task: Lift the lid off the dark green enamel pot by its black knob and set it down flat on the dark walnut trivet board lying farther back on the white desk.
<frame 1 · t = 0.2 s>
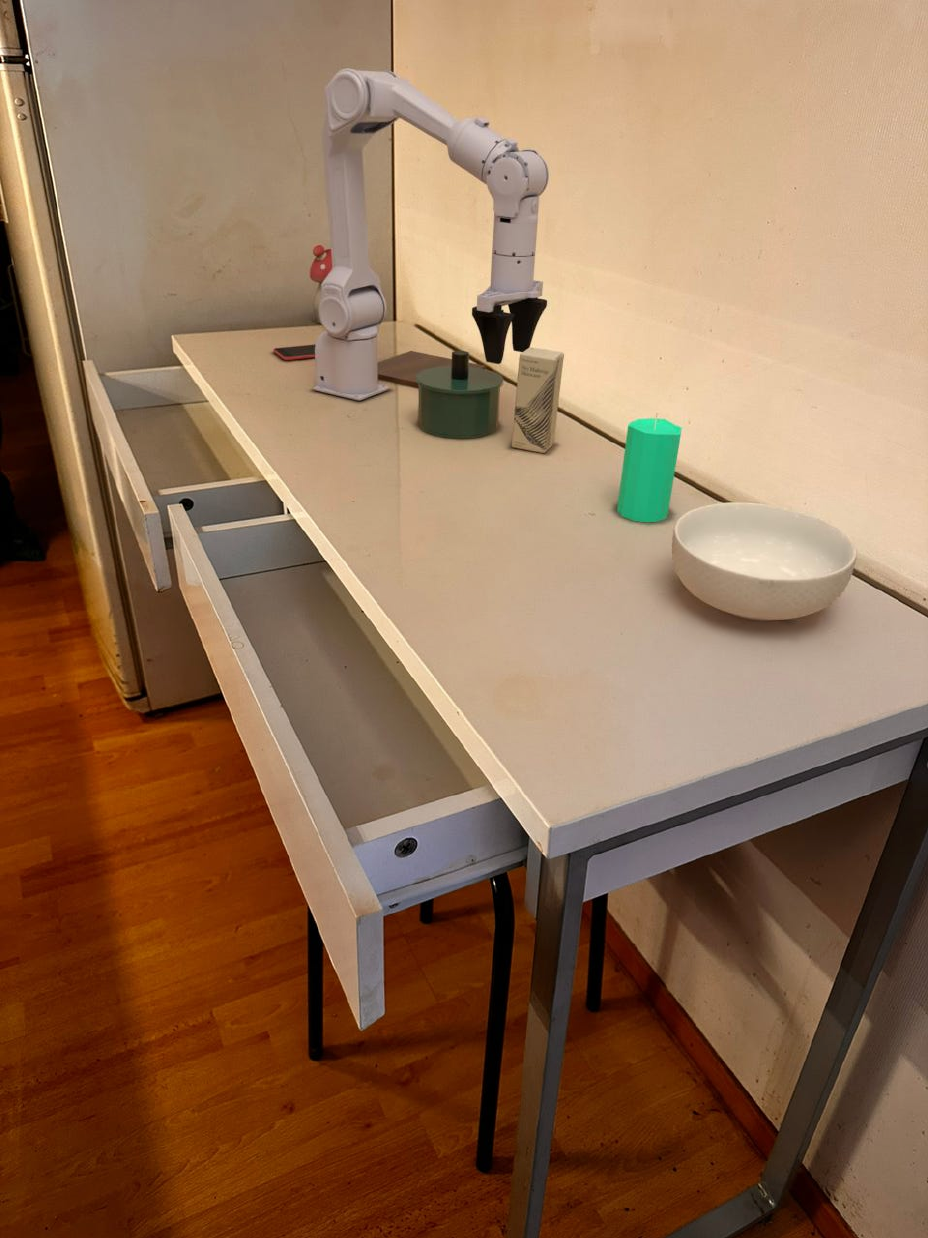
hand: (507, 356, 126), 10 cm above the table, tool pointing down, fingers open, 7 cm apart
candle: (642, 513, 106), on the table
pot: (458, 425, 130), on the table
trivet: (422, 372, 154), on the table
decorative ornament: (333, 323, 184), on the table
smartphone: (315, 353, 162), on the table
lid: (459, 381, 127), point 6 cm above the table, touching pot
box: (533, 447, 124), on the table
cereal bowl: (749, 602, 88), on the table
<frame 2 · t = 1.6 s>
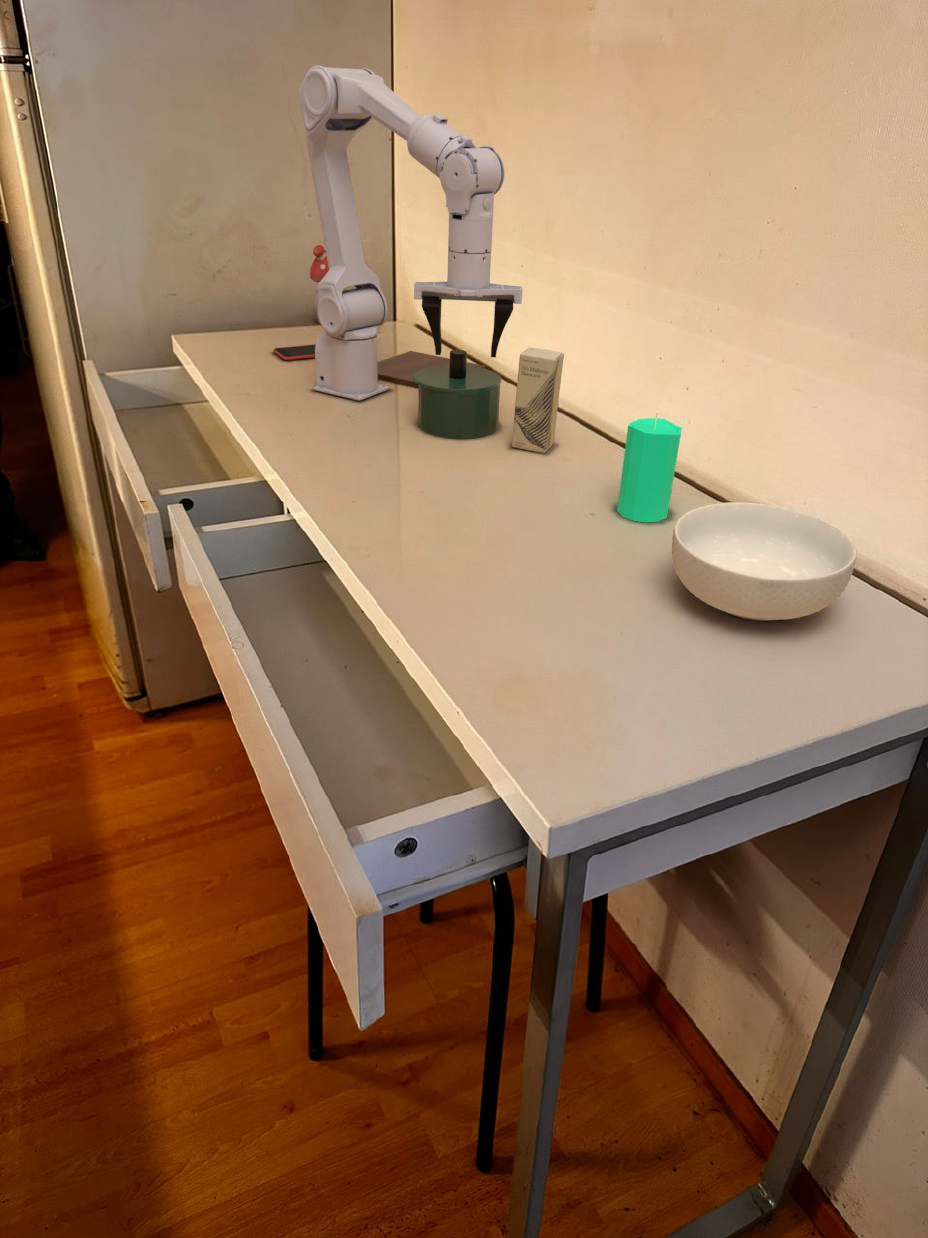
hand: (465, 354, 125), 10 cm above the table, tool pointing down, fingers open, 7 cm apart
nothing on the table moved.
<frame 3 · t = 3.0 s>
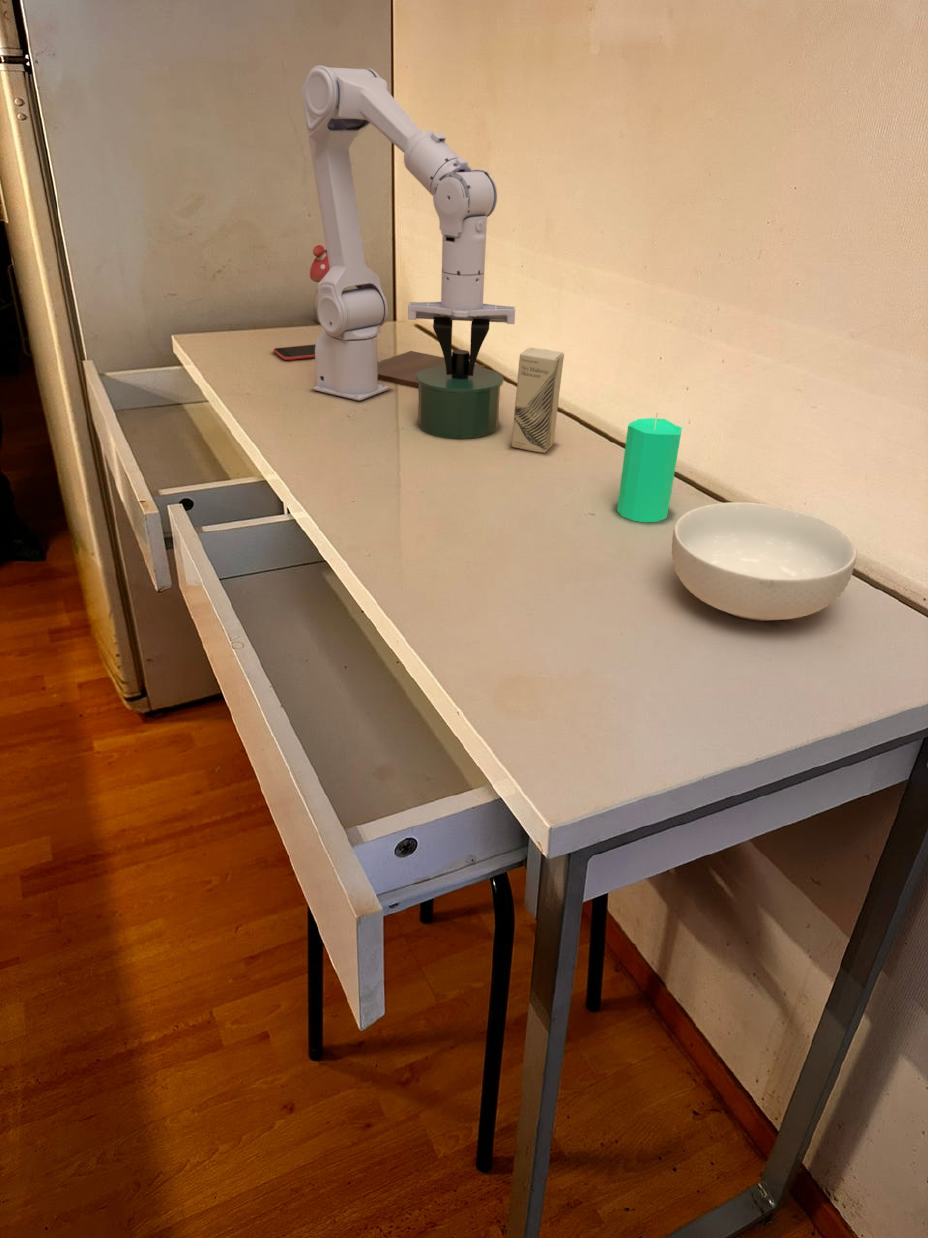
hand: (459, 373, 127), 8 cm above the table, tool pointing down, fingers closed on lid, 2 cm apart
lid: (459, 380, 127), point 7 cm above the table, touching gripper
everything else where it was.
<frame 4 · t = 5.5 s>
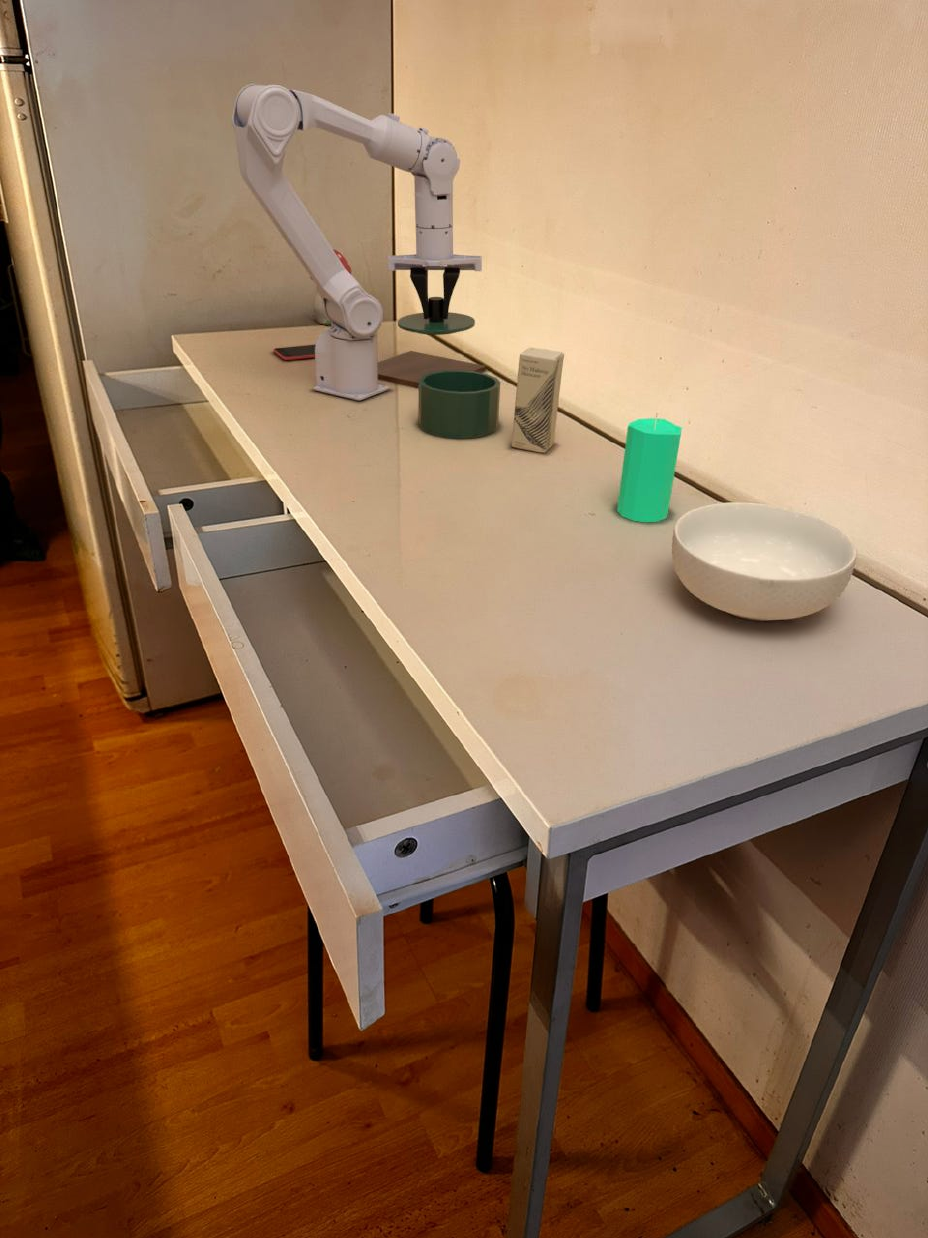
hand: (435, 317, 144), 10 cm above the table, tool pointing down, fingers closed on lid, 2 cm apart
lid: (436, 323, 145), point 9 cm above the table, touching gripper
everything else where it was.
when the fingers open (2 cm above the table, at t = 8.2 s): lid stays where it is, resting on trivet.
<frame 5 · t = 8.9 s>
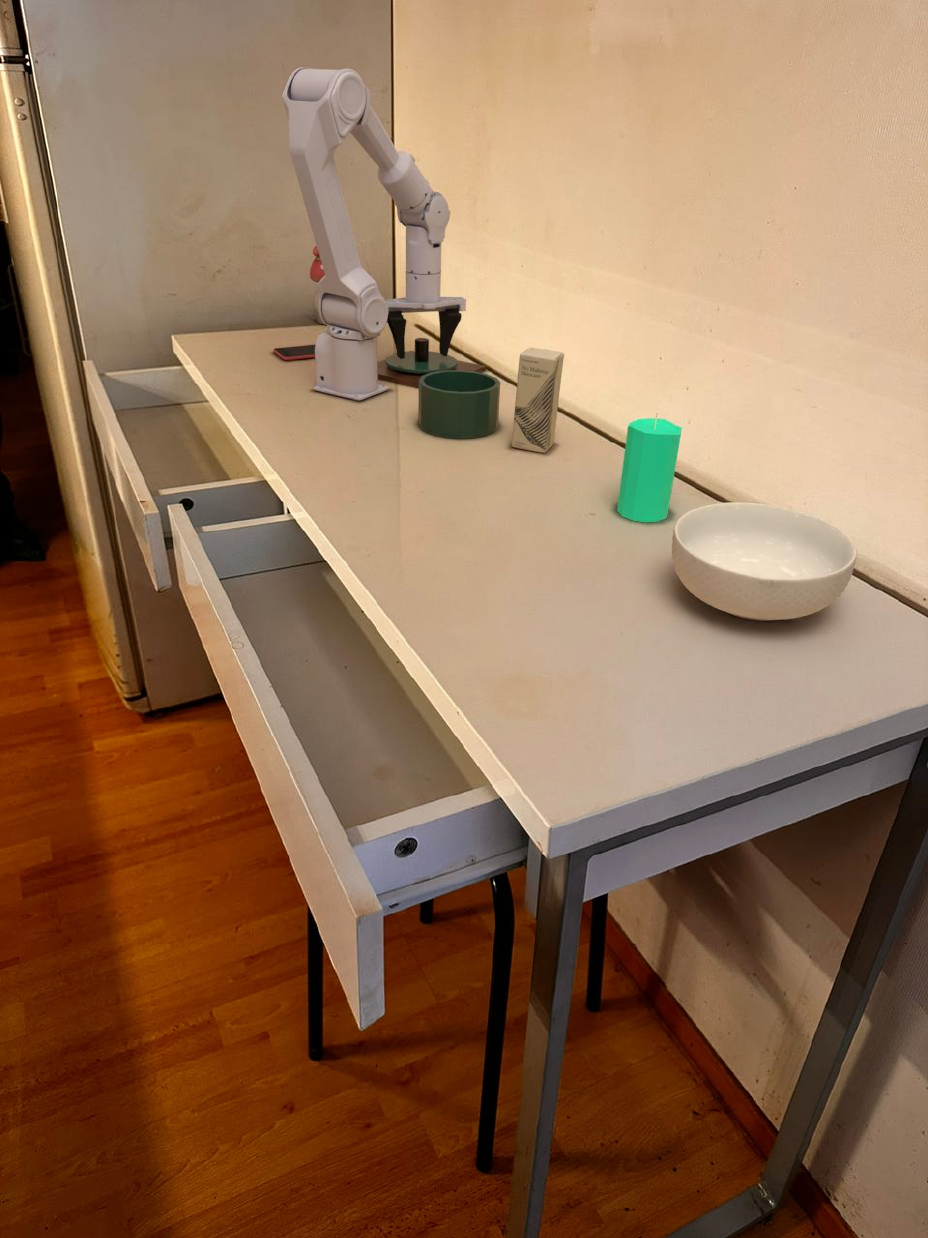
hand: (422, 355, 153), 3 cm above the table, tool pointing down, fingers open, 7 cm apart
lid: (421, 363, 154), point 1 cm above the table, touching trivet
everything else where it was.
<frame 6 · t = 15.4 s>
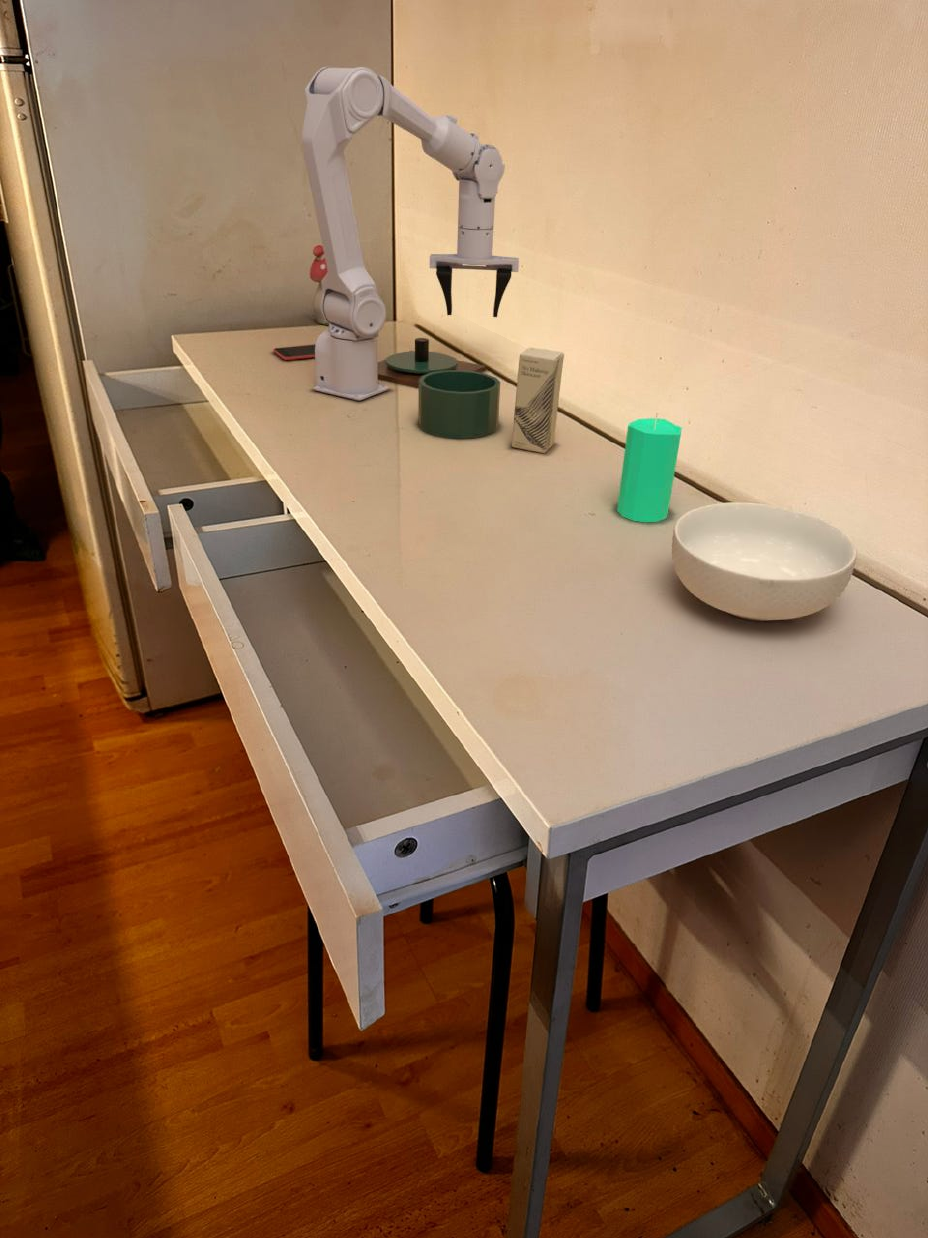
hand: (472, 314, 151), 9 cm above the table, tool pointing down, fingers open, 7 cm apart
nothing on the table moved.
at the end: lid inside the target area on the trivet (0.4 cm from its centre), point 1.4 cm above the trivet's base; lid tilted 0° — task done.
